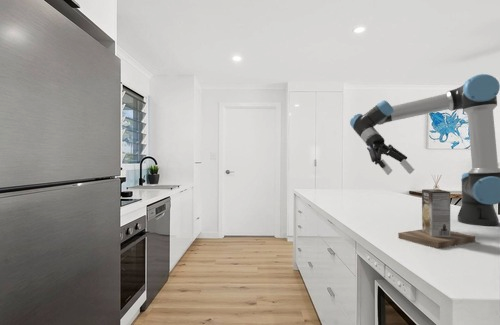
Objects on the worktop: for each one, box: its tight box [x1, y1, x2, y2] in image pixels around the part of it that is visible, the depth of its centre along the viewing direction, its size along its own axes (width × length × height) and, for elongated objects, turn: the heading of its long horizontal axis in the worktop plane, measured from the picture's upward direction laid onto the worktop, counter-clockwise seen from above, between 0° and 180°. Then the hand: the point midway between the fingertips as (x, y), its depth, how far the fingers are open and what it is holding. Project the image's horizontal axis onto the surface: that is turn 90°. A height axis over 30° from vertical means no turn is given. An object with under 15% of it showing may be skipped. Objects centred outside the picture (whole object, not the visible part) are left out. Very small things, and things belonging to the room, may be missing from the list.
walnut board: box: [397, 228, 476, 250], centre depth 107 cm, size 20×15×2 cm
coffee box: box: [421, 188, 451, 237], centre depth 107 cm, size 9×6×16 cm
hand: (401, 172), depth 125 cm, fingers open, 13 cm apart
